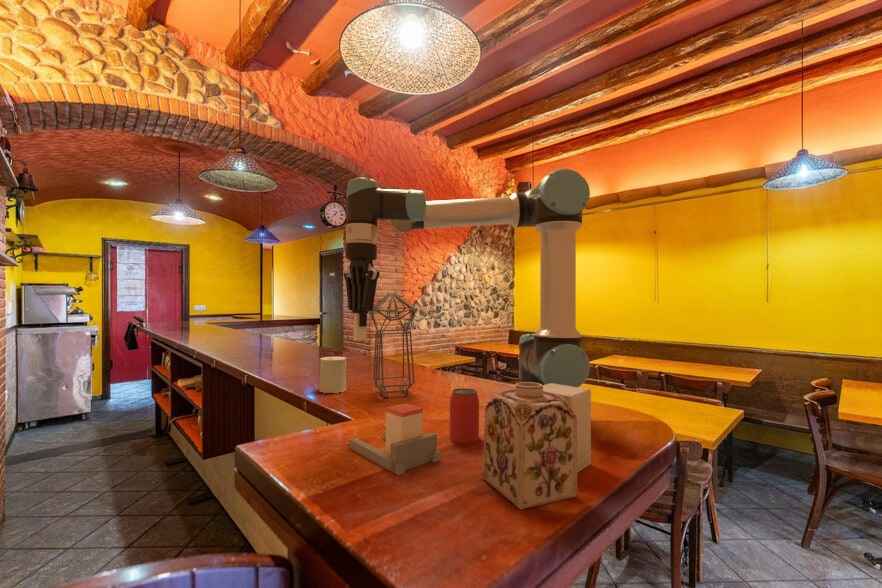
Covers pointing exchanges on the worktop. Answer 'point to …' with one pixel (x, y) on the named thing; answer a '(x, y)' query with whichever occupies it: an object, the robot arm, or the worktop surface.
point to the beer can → (464, 416)
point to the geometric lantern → (392, 333)
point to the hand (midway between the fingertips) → (359, 340)
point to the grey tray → (401, 452)
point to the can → (332, 374)
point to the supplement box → (582, 408)
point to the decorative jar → (530, 446)
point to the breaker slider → (402, 423)
